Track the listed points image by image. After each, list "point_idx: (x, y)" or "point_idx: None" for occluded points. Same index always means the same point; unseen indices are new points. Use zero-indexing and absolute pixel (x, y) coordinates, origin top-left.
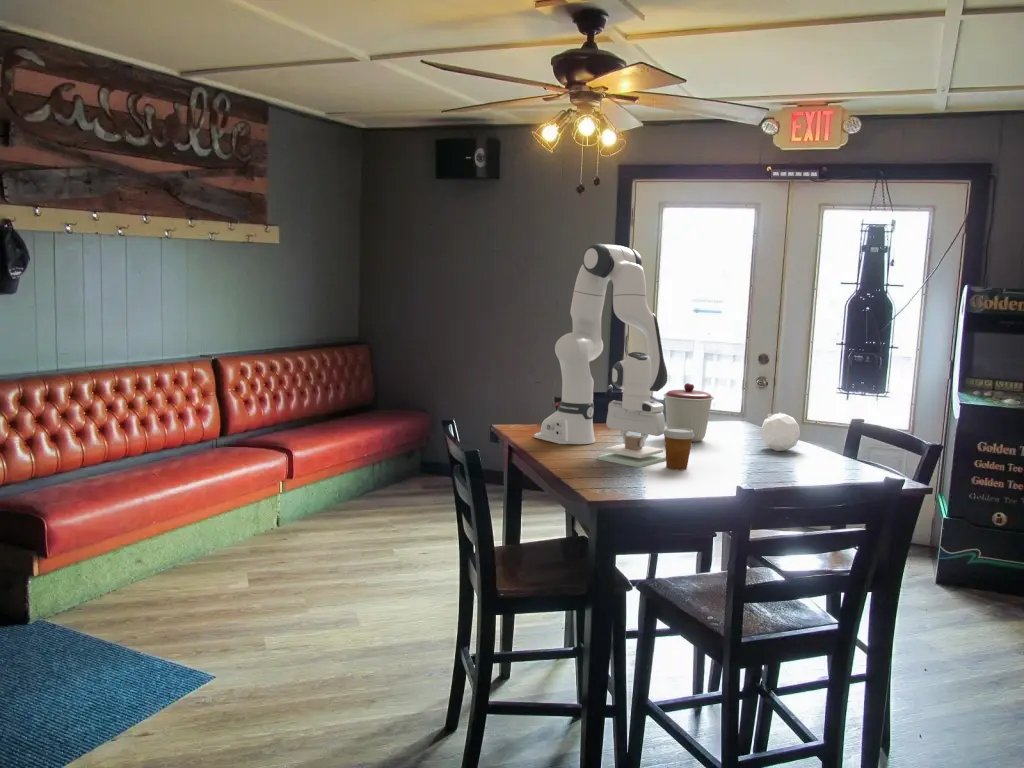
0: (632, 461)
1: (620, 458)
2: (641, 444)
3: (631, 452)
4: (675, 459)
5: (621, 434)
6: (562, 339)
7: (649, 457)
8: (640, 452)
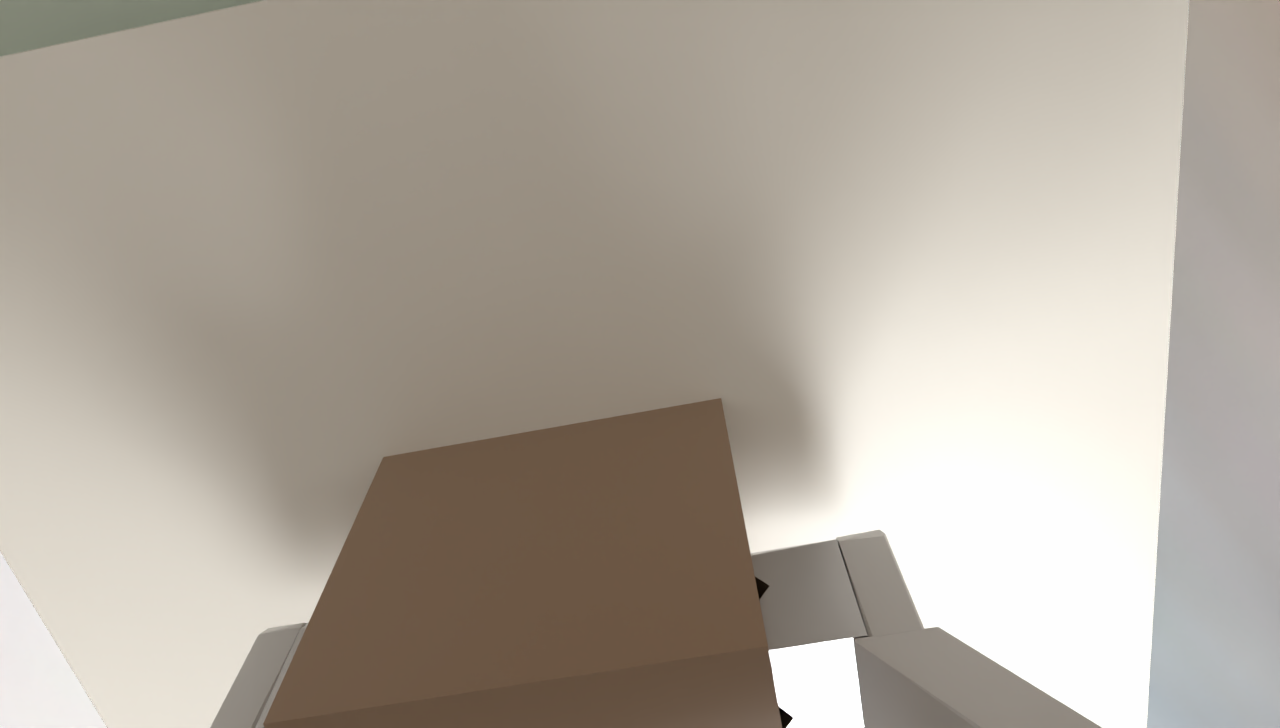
0: (121, 20)
1: None
2: (238, 676)
3: (196, 166)
4: None
5: (1071, 717)
6: None
7: None
8: (113, 393)
